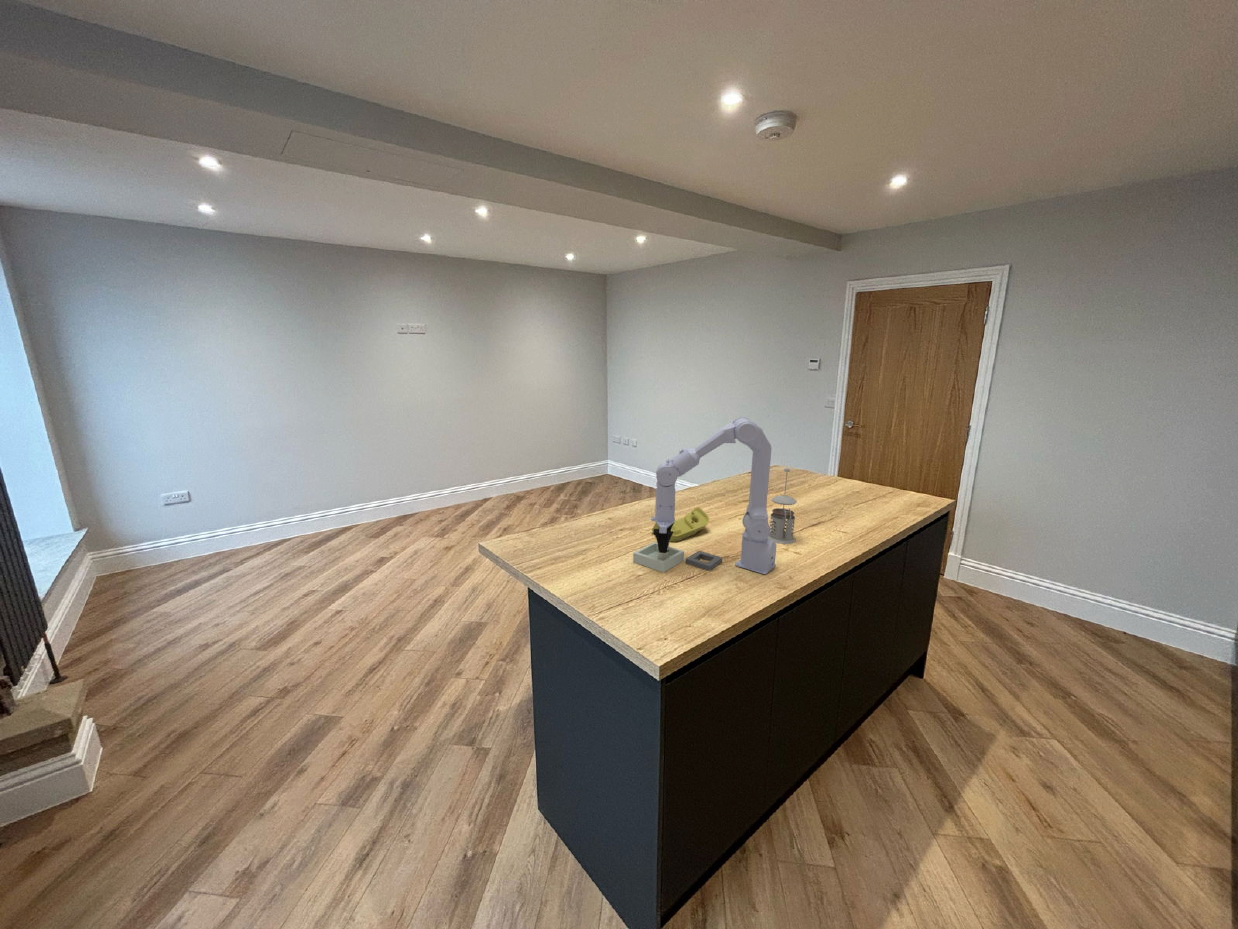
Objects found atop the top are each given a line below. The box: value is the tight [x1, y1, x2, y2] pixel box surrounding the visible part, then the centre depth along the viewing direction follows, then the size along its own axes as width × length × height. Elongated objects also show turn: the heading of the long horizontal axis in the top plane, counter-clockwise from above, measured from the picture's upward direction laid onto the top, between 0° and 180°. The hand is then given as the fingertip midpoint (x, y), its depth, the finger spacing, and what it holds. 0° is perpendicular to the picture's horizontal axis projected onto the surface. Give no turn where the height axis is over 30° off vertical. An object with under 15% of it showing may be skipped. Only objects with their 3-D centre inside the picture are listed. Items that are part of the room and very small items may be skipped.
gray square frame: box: [685, 550, 723, 572], centre depth 138 cm, size 8×8×2 cm
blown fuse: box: [658, 540, 671, 561], centre depth 138 cm, size 3×3×6 cm
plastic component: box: [651, 506, 710, 543], centre depth 162 cm, size 20×7×10 cm
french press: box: [768, 467, 798, 545], centre depth 155 cm, size 10×12×25 cm
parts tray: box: [632, 541, 685, 573], centre depth 139 cm, size 11×11×3 cm
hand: (663, 547), depth 138 cm, fingers open, 7 cm apart
